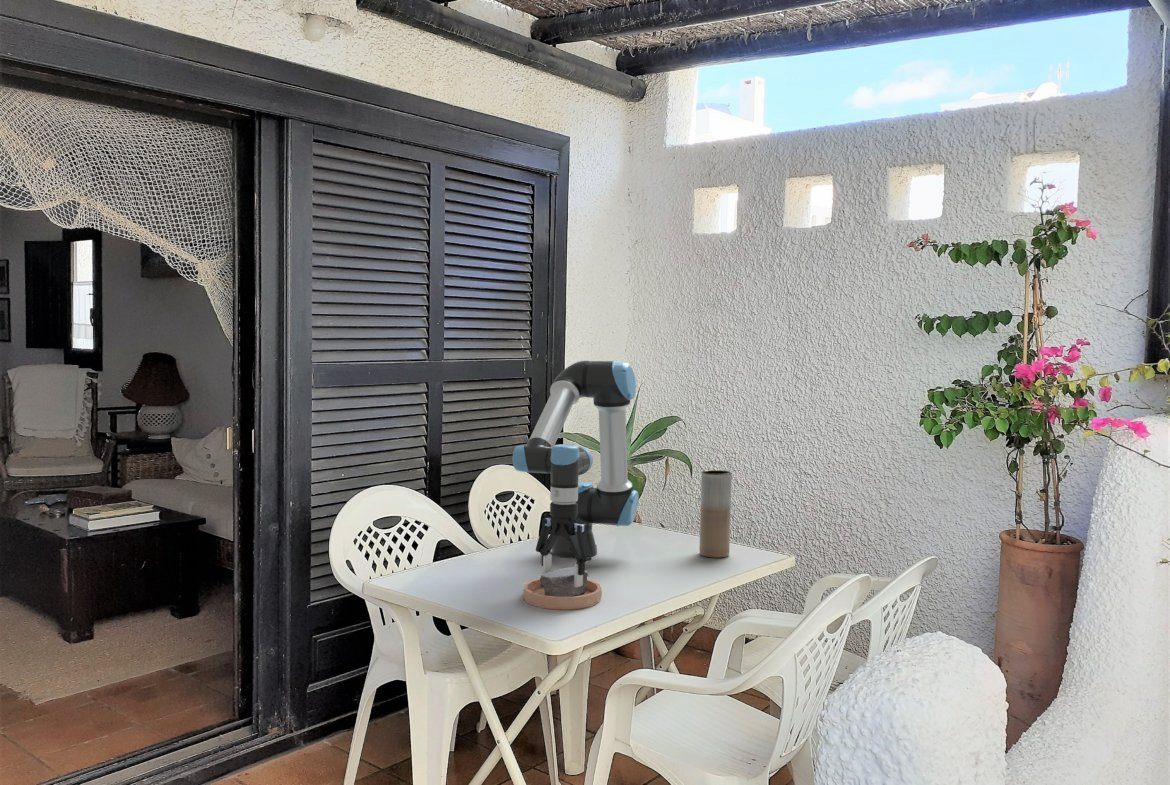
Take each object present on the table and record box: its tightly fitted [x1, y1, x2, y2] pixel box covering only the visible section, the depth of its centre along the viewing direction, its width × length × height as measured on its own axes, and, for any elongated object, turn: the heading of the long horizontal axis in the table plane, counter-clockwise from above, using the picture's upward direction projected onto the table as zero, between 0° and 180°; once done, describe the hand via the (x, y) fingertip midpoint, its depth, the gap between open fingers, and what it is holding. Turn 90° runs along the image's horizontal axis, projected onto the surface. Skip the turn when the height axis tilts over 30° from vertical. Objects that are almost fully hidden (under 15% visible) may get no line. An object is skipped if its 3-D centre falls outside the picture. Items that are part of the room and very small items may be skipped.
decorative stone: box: [539, 566, 589, 597], centre depth 241 cm, size 15×7×10 cm
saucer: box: [522, 577, 603, 611], centre depth 241 cm, size 21×21×3 cm
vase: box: [698, 469, 732, 559], centre depth 294 cm, size 10×10×28 cm
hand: (562, 582), depth 241 cm, fingers open, 10 cm apart
